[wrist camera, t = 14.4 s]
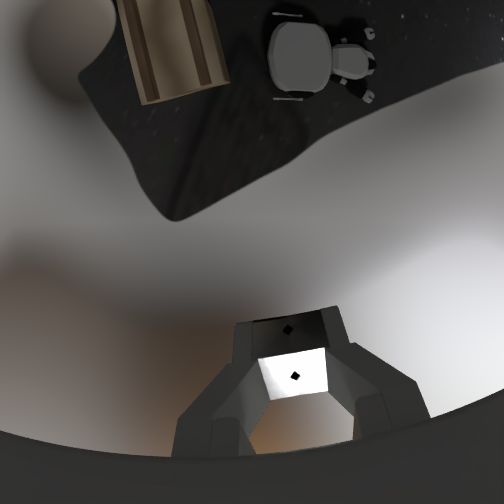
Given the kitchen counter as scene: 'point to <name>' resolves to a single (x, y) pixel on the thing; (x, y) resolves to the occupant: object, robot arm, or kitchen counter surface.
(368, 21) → the kitchen counter surface
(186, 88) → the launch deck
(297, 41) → the robot toy
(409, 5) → the kitchen counter surface
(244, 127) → the kitchen counter surface
